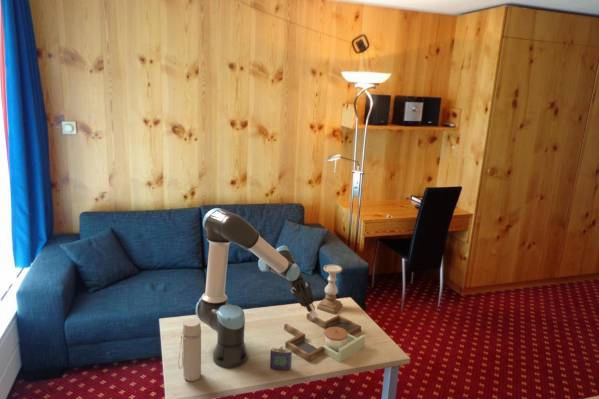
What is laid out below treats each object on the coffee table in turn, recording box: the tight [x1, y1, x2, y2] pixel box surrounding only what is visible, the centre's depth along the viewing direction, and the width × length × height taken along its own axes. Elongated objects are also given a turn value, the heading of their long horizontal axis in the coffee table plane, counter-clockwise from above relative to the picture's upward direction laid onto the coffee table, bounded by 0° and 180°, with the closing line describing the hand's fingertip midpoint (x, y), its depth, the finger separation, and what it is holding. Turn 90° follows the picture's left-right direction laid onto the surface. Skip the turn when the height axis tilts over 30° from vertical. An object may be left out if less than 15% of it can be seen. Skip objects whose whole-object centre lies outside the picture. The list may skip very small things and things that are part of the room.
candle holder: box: [316, 264, 343, 315], centre depth 247 cm, size 11×11×24 cm
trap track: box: [283, 312, 366, 363], centre depth 218 cm, size 36×39×6 cm
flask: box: [269, 345, 293, 372], centre depth 193 cm, size 9×3×11 cm, turn 87°
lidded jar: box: [324, 327, 348, 352], centre depth 211 cm, size 11×11×9 cm
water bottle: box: [177, 317, 202, 382], centre depth 182 cm, size 9×8×25 cm
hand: (315, 316), depth 220 cm, fingers closed
